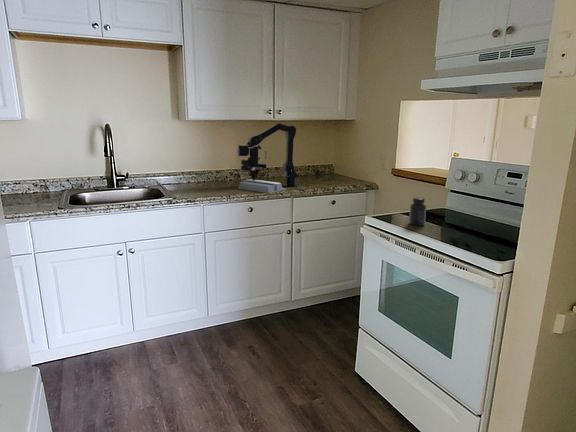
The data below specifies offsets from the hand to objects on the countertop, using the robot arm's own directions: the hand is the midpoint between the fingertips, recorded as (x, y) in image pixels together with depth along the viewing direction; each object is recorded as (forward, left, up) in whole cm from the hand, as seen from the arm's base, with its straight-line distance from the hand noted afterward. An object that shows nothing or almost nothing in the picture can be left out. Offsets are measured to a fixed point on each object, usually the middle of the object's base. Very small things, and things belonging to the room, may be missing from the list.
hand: (253, 180), depth 276 cm
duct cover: (-1, +7, -1) cm, 7 cm away
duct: (-1, +7, -5) cm, 9 cm away
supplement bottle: (+23, +118, -5) cm, 120 cm away
